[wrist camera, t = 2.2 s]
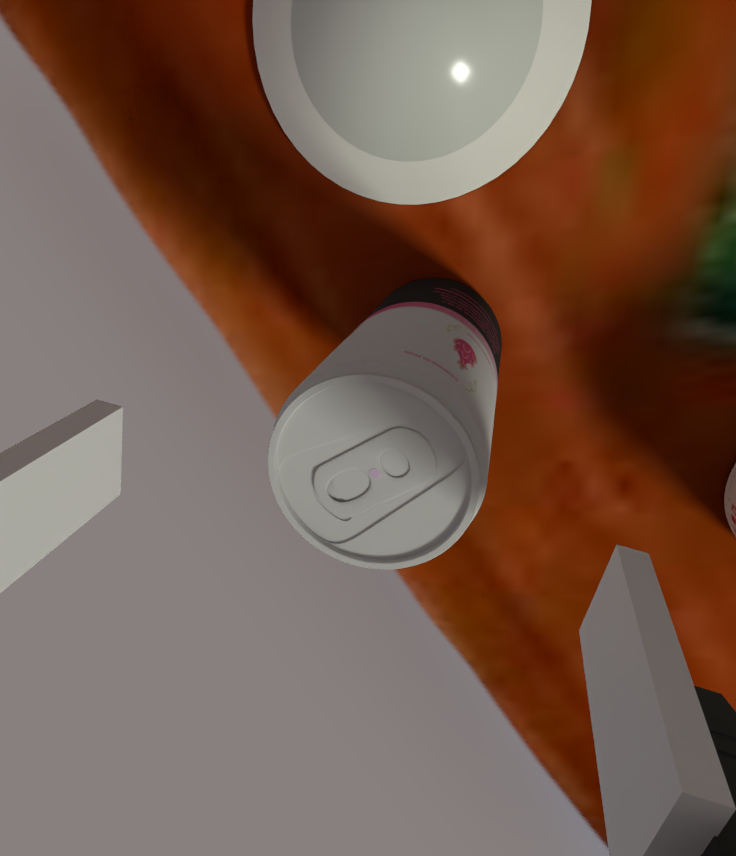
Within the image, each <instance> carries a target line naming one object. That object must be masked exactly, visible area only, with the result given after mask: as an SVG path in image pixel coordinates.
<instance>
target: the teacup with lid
mask: <svg viewBox="0 0 736 856" xmlns="http://www.w3.org/2000/svg"><path fill="white" fill-rule="evenodd" d="M724 507H725V513H726V518H727V521H728V524H729V526H730V528H731V530H732V532H733V534H734V535H735V537H736V463H735V465H734V467H733V469H732V471H731V473H730V475H729V478H728V481H727V484H726V488H725V494H724Z"/></svg>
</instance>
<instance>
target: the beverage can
mask: <svg viewBox="0 0 736 856" xmlns="http://www.w3.org/2000/svg"><path fill="white" fill-rule="evenodd" d="M501 344H502V342H501V332H500V328H499V325H498V322H497V319H496V317H495V315H494V313H493V311H492V309H491V308H490V306H489V305H488V304H487V303H486V301H485V300H484V299H483V298H482V297H481V296H480V295H479V294H477V293H476V292H475V291H474V290H472V289H471V288H469V287H467V286H465V285H463V284H461V283H459V282H456V281H453V280H449V279H443V278H425V279H419V280H415V281H412V282H409V283H407V284H405V285H403V286H401V287H399V288H398V289H396V290H395V291H394V292H392V293H391V294H390V295H389V296H388V297H387V298H386V299H385V300H384V301H383V302H382V303H381V304H380V305H379V306H378V307H377V308H376V309H375V310H374V311H373V312H372V313H371V314H370V315H369V316H368V317H367V318H366V319H365V320H364V321H363V322H362V323H361V324H360V325H359V326H358V327H357V328H356V329H355V330H354V331H353V332H352V333H351V334H350V335H349V336H348V337H347V338H346V339H345V340H344V341H343V342H342V343H341V344H340V345H339V346H338V347H337V348H336V349H335V350H334V351H333V352H332V353H331V354H330V355H329V356H328V357H327V358H326V359H325V360H324V361H323V362H322V363H321V364H320V365H319V366H318V367H317V368H316V369H315V370H314V371H313V372H312V373H311V374H310V375H309V376H308V377H307V378H306V379H305V380H304V381H303V382H302V383H301V384H300V385H299V386H298V387H297V388H296V389H295V390H294V391H293V392H292V393H291V395H290V396H289V397H288V399H287V400H286V402H285V403H284V405H283V406H282V408H281V410H280V412H279V414H278V417H277V419H276V422H275V425H274V429H273V432H272V436H271V439H270V443H269V450H268V473H269V479H270V484H271V487H272V491H273V493H274V496H275V499H276V501H277V503H278V505H279V507H280V509H281V510H282V512H283V514H284V515H285V517H286V518H287V519H288V521H289V522H290V524H291V525H292V526H293V527H294V528H295V529H296V530H297V531H298V533H300V534H301V536H303V537H304V538H305V539H306V540H307V541H308V542H310V543H311V544H312V545H313V546H315V547H317V548H318V549H319V550H321V551H323V552H324V553H326V554H328V555H330V556H332V557H334V558H336V559H338V560H340V561H343V562H346V563H349V564H352V565H356V566H360V567H365V568H372V569H399V568H406V567H411V566H414V565H418V564H421V563H423V562H426V561H428V560H431V559H433V558H435V557H436V556H438V555H440V554H441V553H443V552H444V551H446V550H447V549H448V548H449V547H451V546H452V545H453V544H454V543H455V542H456V541H457V540H458V539H459V538H460V537H461V535H462V534H463V533H464V532H465V530H466V529H467V527H468V525H469V524H470V523H471V521H472V520H473V519H474V517H475V515H476V514H477V512H478V510H479V508H480V506H481V503H482V501H483V498H484V495H485V491H486V486H487V479H488V470H489V460H490V451H491V441H492V432H493V423H494V413H495V404H496V394H497V385H498V375H499V366H500V357H501Z"/></svg>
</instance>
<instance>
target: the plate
mask: <svg viewBox="0 0 736 856" xmlns="http://www.w3.org/2000/svg"><path fill="white" fill-rule="evenodd" d="M590 10H591V0H253V18H252V21H253V37H254V48H255V53H256V59H257V65H258V70H259V73H260V77H261V80H262V84H263V87H264V91H265V93H266V96H267V98H268V101H269V103H270V106H271V108H272V110H273V113H274V114H275V116H276V118H277V120H278V122H279V124H280V125H281V127H282V129H283V131H284V132H285V134H286V135H287V136H288V138H289V139H290V141H291V142H292V143H293V145H294V146H295V148H296V149H297V150H298V151H299V152H300V153H301V154H302V155H303V157H304V158H305V159H306V160H307V161H308V162H309V163H310V164H311V165H312V166H313V167H315V168H316V169H317V170H318V171H319V172H321V173H322V174H323V175H324V176H325V177H327V178H328V179H330V180H332V181H333V182H335V183H336V184H338V185H339V186H341V187H343V188H345V189H347V190H349V191H351V192H353V193H356V194H358V195H360V196H363V197H366V198H370V199H373V200H376V201H380V202H387V203H393V204H426V203H434V202H440V201H444V200H447V199H451V198H455V197H458V196H461V195H463V194H465V193H468V192H470V191H472V190H475V189H477V188H479V187H481V186H483V185H484V184H486V183H488V182H489V181H491V180H493V179H495V178H496V177H498V176H499V175H501V174H502V173H503V172H504V171H506V170H507V169H508V168H510V167H511V166H512V165H514V164H515V163H516V162H517V161H518V160H519V159H520V158H521V157H522V156H523V155H524V154H525V153H526V152H527V151H528V150H529V149H530V148H531V147H532V146H533V145H534V144H535V143H536V141H537V140H538V139H539V138H540V136H541V135H542V134H543V133H544V131H545V130H546V129H547V128H548V126H549V125H550V123H551V122H552V120H553V118H554V117H555V115H556V114H557V112H558V110H559V109H560V107H561V106H562V104H563V102H564V100H565V97H566V95H567V93H568V91H569V89H570V87H571V85H572V83H573V81H574V78H575V75H576V72H577V69H578V66H579V64H580V61H581V58H582V55H583V50H584V46H585V42H586V37H587V33H588V28H589V19H590Z"/></svg>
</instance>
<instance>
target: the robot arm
mask: <svg viewBox="0 0 736 856" xmlns="http://www.w3.org/2000/svg"><path fill="white" fill-rule="evenodd" d="M122 419H123V407H122V406H118V405H115V404H111V403H108V402H104V401H100V400H95V401H93V402H92V403H90V404H88V405H86V406H84V407H83V408H81V409H79V410H77V411H76V412H74V413H72V414H70V415H68V416H66V417H65V418H63V419H61V420H59V421H57V422H56V423H54V424H52V425H50V426H48V427H46V428H45V429H43V430H41V431H39V432H37V433H36V434H34V435H32V436H30V437H28V438H27V439H25V440H23V441H21V442H20V443H18V444H16V445H14V446H12V447H11V448H9V449H7V450H5V451H3V452H1V453H0V593H1V592H2V591H4V590H5V589H6V588H7V587H8V586H10V585H11V584H12V583H13V582H14V581H16V580H17V579H18V578H19V577H20V576H22V575H23V574H24V573H25V572H27V571H28V570H29V569H30V568H31V567H32V566H34V565H35V564H36V563H37V562H39V561H40V560H41V559H42V558H44V557H45V556H46V555H47V554H48V553H49V552H51V551H52V550H53V549H54V548H56V547H57V546H58V545H59V544H61V543H62V542H63V541H64V540H65V539H67V538H68V537H69V536H70V535H71V534H73V533H74V532H75V531H76V530H77V529H79V528H80V527H81V526H82V525H83V524H85V523H86V522H87V521H88V520H89V519H91V518H92V517H93V516H94V515H96V514H97V513H98V512H99V511H100V510H102V509H103V508H104V507H105V506H106V505H108V504H109V503H110V502H111V501H113V500H114V499H115V498H116V497H117V496H119V495H120V494H121V459H122V457H121V456H122ZM579 633H580V640H581V648H582V655H583V662H584V670H585V677H586V684H587V692H588V699H589V706H590V714H591V721H592V729H593V736H594V743H595V751H596V758H597V765H598V773H599V780H600V788H601V795H602V802H603V810H604V817H605V824H606V832H607V839H608V846H609V854H610V856H736V712H735V711H734V709H733V708H732V707H731V706H730V704H729V703H728V702H727V701H726V699H725V698H724V697H723V696H722V694H720V693H716V692H713V691H710V690H706V689H703V688H700V687H696V686H694V685H693V682H692V679H691V676H690V673H689V670H688V667H687V664H686V661H685V658H684V655H683V653H682V650H681V647H680V644H679V641H678V638H677V635H676V632H675V629H674V626H673V623H672V620H671V618H670V615H669V612H668V609H667V606H666V603H665V600H664V597H663V594H662V591H661V588H660V585H659V582H658V580H657V577H656V574H655V571H654V568H653V565H652V562H651V559H650V556H649V553H645V552H641V551H638V550H634V549H631V548H627V547H623V546H620V545H616V547H615V549H614V552H613V554H612V556H611V559H610V561H609V563H608V565H607V568H606V570H605V572H604V575H603V577H602V579H601V581H600V584H599V586H598V588H597V591H596V593H595V595H594V598H593V600H592V602H591V604H590V607H589V609H588V611H587V614H586V616H585V618H584V620H583V623H582V625H581V627H580V630H579Z"/></svg>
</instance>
